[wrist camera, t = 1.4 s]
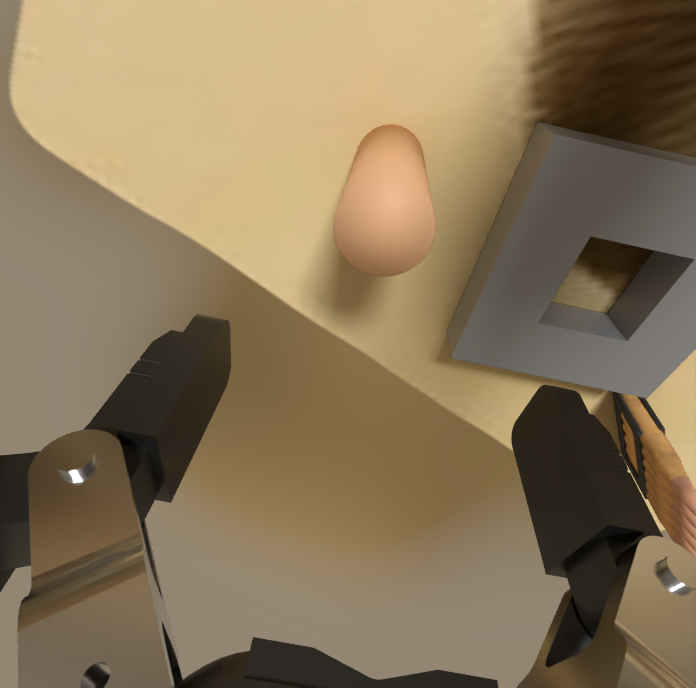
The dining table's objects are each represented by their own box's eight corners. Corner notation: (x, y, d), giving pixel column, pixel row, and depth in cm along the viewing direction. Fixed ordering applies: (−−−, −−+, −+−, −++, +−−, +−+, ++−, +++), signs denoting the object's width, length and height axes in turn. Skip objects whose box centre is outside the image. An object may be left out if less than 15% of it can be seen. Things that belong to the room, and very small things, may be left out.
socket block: (537, 121, 23) (555, 134, 21) (791, 179, 24) (841, 199, 21) (446, 331, 34) (451, 358, 31) (627, 368, 34) (646, 398, 31)
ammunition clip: (611, 386, 36) (686, 514, 26) (634, 381, 35) (720, 510, 26) (621, 455, 41) (686, 580, 32) (642, 451, 41) (714, 578, 31)
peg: (362, 117, 24) (342, 168, 16) (432, 133, 24) (450, 191, 16) (349, 189, 27) (326, 265, 19) (412, 203, 27) (418, 284, 19)
